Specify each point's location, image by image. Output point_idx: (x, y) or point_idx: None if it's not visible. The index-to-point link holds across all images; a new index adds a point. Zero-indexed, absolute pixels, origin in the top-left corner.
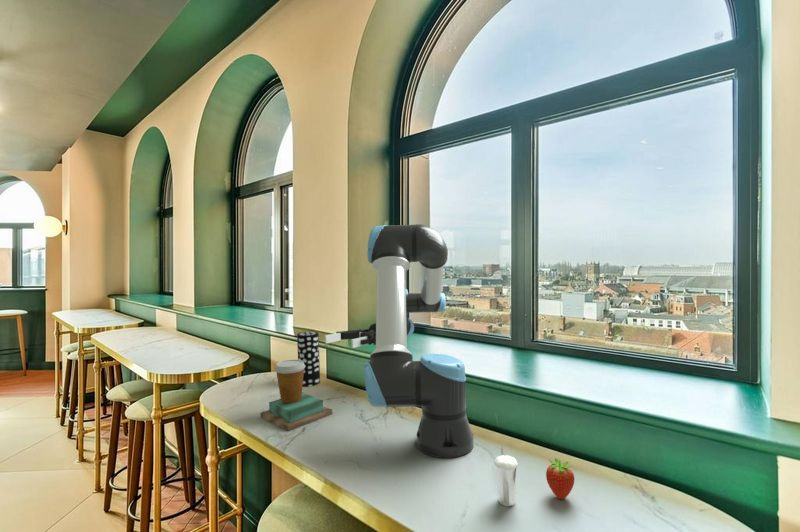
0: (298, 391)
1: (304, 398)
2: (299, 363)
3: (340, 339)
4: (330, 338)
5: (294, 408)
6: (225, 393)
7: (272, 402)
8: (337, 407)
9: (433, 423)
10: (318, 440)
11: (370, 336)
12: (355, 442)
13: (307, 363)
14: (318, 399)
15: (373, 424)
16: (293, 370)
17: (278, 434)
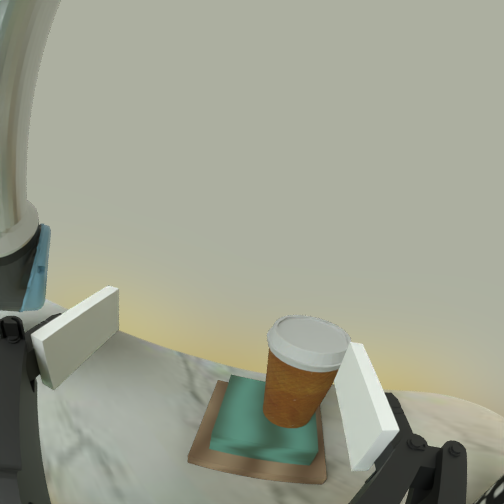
0: (265, 390)
1: (266, 426)
2: (295, 342)
3: (355, 464)
4: (348, 381)
5: (236, 385)
6: (468, 417)
7: None
8: (204, 499)
9: None
10: (144, 373)
11: (9, 326)
12: (80, 371)
13: (479, 502)
14: (225, 432)
15: (62, 426)
16: (271, 328)
17: (224, 377)
